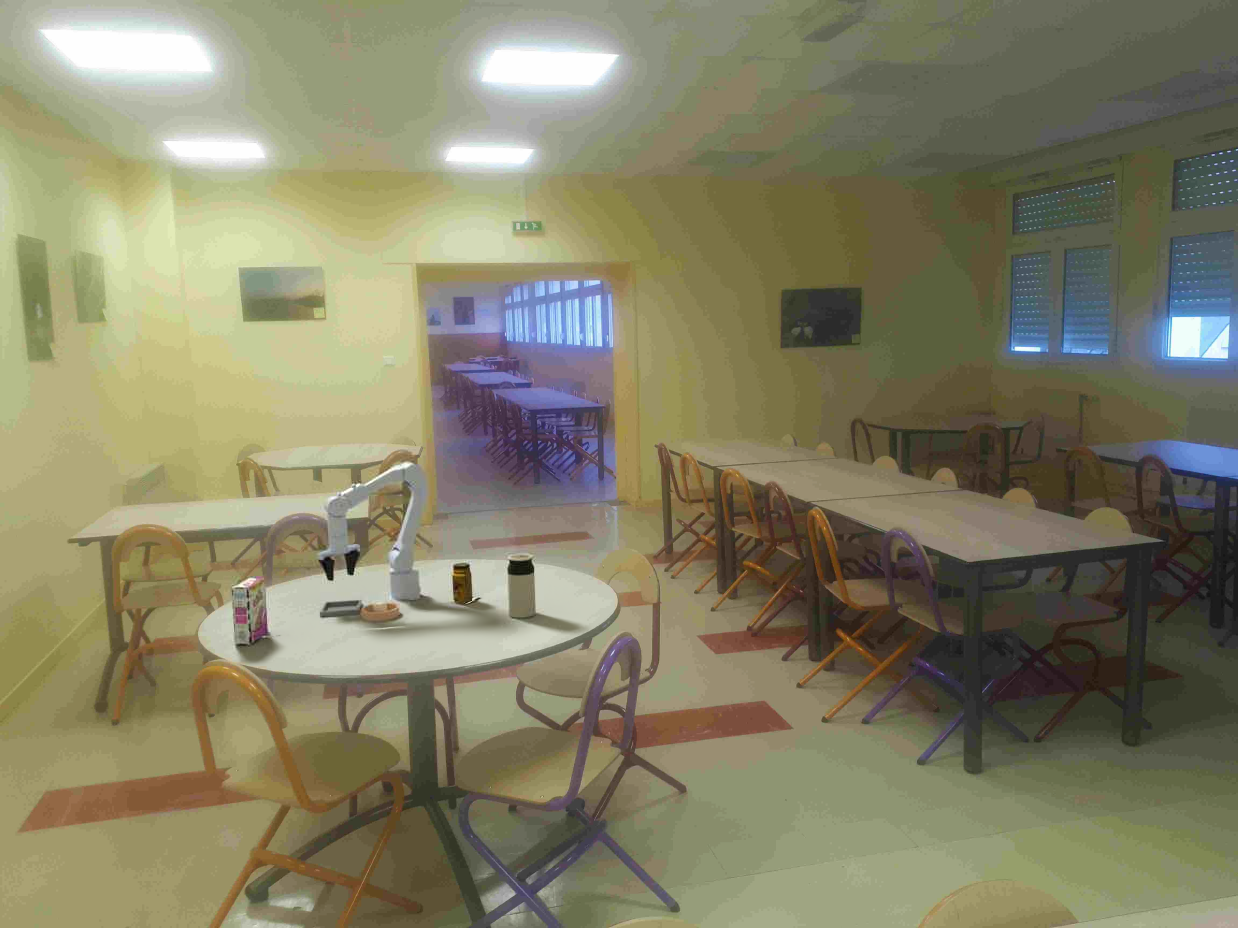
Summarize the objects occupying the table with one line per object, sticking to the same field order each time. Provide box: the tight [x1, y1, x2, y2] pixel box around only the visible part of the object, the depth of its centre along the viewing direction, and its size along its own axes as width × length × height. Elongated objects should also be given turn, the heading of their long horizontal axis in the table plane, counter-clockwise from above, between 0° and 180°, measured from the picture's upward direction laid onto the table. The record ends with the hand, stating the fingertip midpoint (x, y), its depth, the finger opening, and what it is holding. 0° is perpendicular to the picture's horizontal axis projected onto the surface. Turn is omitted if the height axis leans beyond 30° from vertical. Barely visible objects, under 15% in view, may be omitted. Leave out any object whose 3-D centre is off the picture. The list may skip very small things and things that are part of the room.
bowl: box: [360, 601, 401, 622], centre depth 268 cm, size 11×11×3 cm
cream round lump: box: [372, 600, 387, 612], centre depth 268 cm, size 4×4×4 cm
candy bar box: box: [231, 577, 269, 646], centre depth 249 cm, size 11×5×16 cm, turn 178°
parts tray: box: [319, 599, 363, 618], centre depth 274 cm, size 11×11×2 cm
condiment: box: [448, 562, 474, 604], centre depth 283 cm, size 7×8×12 cm
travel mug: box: [507, 553, 537, 619], centre depth 266 cm, size 8×8×18 cm
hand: (340, 577), depth 279 cm, fingers open, 7 cm apart
